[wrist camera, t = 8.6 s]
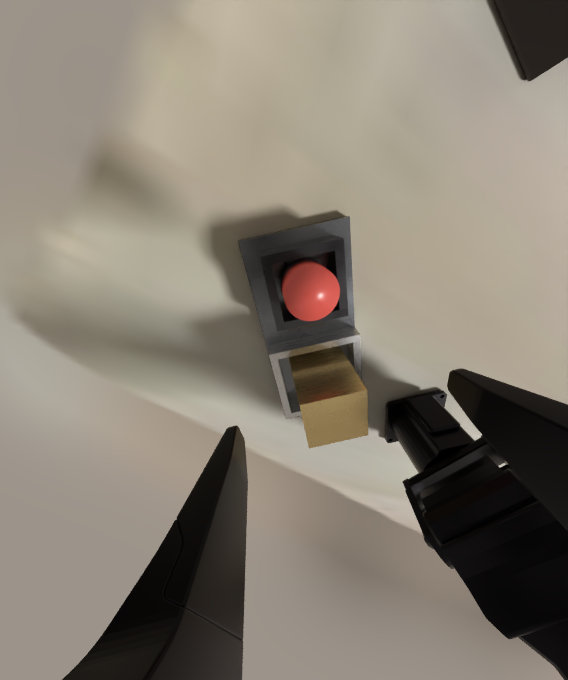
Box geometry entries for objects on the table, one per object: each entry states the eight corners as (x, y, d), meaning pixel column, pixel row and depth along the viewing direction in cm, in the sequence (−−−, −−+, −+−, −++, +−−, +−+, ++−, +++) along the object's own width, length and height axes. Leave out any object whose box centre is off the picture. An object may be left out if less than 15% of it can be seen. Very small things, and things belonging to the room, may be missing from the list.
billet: (341, 382, 22) (368, 435, 17) (296, 393, 22) (309, 448, 17) (338, 344, 20) (367, 389, 15) (288, 355, 20) (299, 405, 15)
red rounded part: (330, 301, 17) (341, 314, 15) (285, 311, 17) (289, 326, 15) (325, 253, 15) (337, 260, 13) (275, 264, 15) (279, 273, 13)
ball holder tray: (355, 389, 24) (366, 409, 21) (283, 405, 24) (286, 427, 21) (346, 216, 16) (363, 217, 13) (238, 240, 16) (235, 245, 13)
